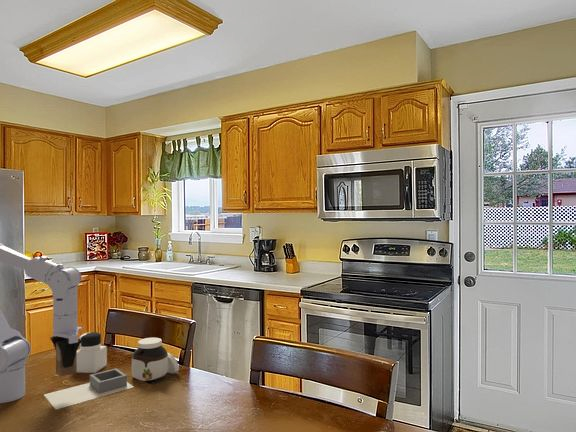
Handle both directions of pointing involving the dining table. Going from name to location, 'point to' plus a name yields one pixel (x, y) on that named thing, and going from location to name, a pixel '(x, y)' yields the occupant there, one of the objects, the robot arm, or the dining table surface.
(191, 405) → the dining table surface
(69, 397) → the board
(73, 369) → the rail post
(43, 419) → the dining table surface
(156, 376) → the spread jar
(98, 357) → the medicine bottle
